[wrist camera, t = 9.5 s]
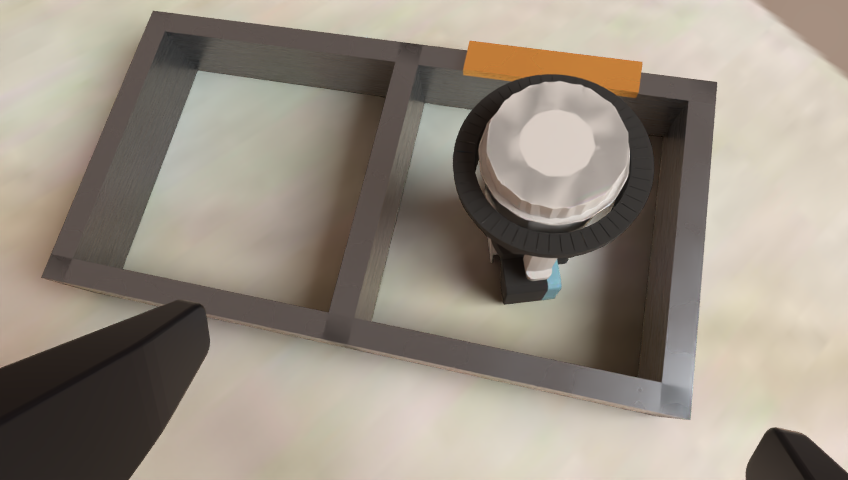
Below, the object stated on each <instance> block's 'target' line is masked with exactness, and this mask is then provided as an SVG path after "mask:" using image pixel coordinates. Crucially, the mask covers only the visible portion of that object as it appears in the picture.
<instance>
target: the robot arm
mask: <svg viewBox="0 0 848 480" xmlns="http://www.w3.org/2000/svg"><path fill="white" fill-rule="evenodd" d="M209 346H210V337H209V330H208V324H207V317H206V311H205V308H204V306H203V305H202V304H200V303H197V302H192V301H188V300H181V299H180V300H175V301H173V302H170V303H167V304H165V305H162V306H160V307H157V308H155V309H152V310H149V311H147V312H144V313H142V314H139V315H136V316H134V317H131V318H129V319H126V320H124V321H121V322H118V323H116V324H113V325H111V326H108V327H105V328H103V329H100V330H98V331H95V332H93V333H90V334H87V335H85V336H82V337H80V338H77V339H74V340H72V341H69V342H67V343H64V344H61V345H59V346H56V347H54V348H51V349H49V350H46V351H43V352H41V353H38V354H36V355H33V356H30V357H28V358H25V359H23V360H20V361H18V362H15V363H12V364H10V365H7V366H5V367H2V368H0V480H129V479H130V477H131V476H132V475H133V473H134V472H135V470H136V469H137V468H138V466H139V465H140V463H141V462H142V461H143V459H144V458H145V456H146V455H147V454H148V452H149V451H150V449H151V448H152V446H153V445H154V444H155V442H156V441H157V439H158V438H159V436H160V435H161V433H162V432H163V430H164V429H165V427H166V425H167V424H168V422H169V420H170V419H171V417H172V415H173V413H174V412H175V410H176V408H177V406H178V405H179V403H180V401H181V399H182V398H183V396H184V394H185V392H186V391H187V389H188V387H189V385H190V384H191V382H192V380H193V378H194V377H195V375H196V373H197V371H198V370H199V368H200V366H201V364H202V362H203V361H204V359H205V357H206V355H207V353H208V350H209ZM746 480H848V473H847V472H846V471H845V470H844V469H843V468H842V467H841V466H839V465H838V464H837V463H836V462H835V461H834V460H833V459H832V458H831V457H829V456H828V455H827V454H826V453H825V452H824V451H823V450H822V449H821V448H820V447H818V446H817V445H816V444H815V443H814V442H813V441H812V440H811V439H809V438H808V437H807V436H806V435H804V434H802V433H799V432H796V431H791V430H786V429H782V428H776V427H775V428H770V429H769V430H767V431H766V433H765V434H764V436H763V438H762V439H761V441H760V443H759V445H758V446H757V448H756V450H755V451H754V453H753V455H752V457H751V458H750V460H749V462H748V464H747V468H746Z"/></svg>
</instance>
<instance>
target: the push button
mask: <svg viewBox="0 0 848 480" xmlns="http://www.w3.org/2000/svg"><path fill="white" fill-rule="evenodd" d="M478 161H479V162H480V172H481V175H482V178H483V180H484V182H485V196H486V198H487V199H486V198H485V196H484V194H483V193H482V191H481V189H480V186H479V184H478V181H477V178H476V173H475V172H476V167H477V164H478ZM453 171H454V180H455V185H456V189H457V192H458V195H459V198H460V200H461V202H462V205H463V207H464V208H465V210H466V212H467V213H468V215H469V216H470V218H471V219H472V220H473V221H474V223H475V224H476V225H477V226H478V227H479V228H480V229H481V230H482V231H483V232H484V234H485V235H486V236H487V237H488V247H489V253H490V260H491V263H493V257H494V256H493V255H497V254H498V255H499V256H500V261H501V281H500V283H501V292H502V298H503V303H504V305H505V304H513V303H521V302H530V301H538V300H546V299H554V298H555V296H556V295H557V293H558V292H559V291H560V290H561V278H560V272H559V267H558V264H565V263H566V262H567V261H568V258H571V257H574V256H578V255H583V254H586V253H589V252H592V251H594V250H596V249H599V248H601V247H603V246H605V245H606V244H608V243H610V242H611V241H613V240H614V239H615V238H617V237H618V236H619V235H621V234H622V233H623V232H624V231H625V230H626V229H627V228H628V227H629V226H630V225H631V224H632V222H633V221H634V220H635V219H636V217H637V216H638V215H639V213H640V212H641V210H642V209H643V207H644V205H645V203H646V201H647V199H648V197H649V194H650V191H651V188H652V183H653V177H654V156H653V150H652V146H651V143H650V139H649V137H648V134H647V132H646V130H645V128H644V126H643V124H642V122H641V121H640V119H639V118H638V117H637V115H636V114H635V113H634V111H633V110H632V109H631V108H630V107H629V106H628V105H627V104H626V103H625V102H624V101H623V100H622V99H621V98H619V97H618V96H617V95H615V94H614V93H612V92H611V91H609V90H608V89H606V88H604V87H602V86H600V85H598V84H596V83H594V82H591V81H588V80H585V79H582V78H578V77H574V76H568V75H559V74H543V75H534V76H529V77H524V78H521V79H517V80H514V81H512V82H509V83H507V84H505V85H503V86H501V87H499V88H497V89H496V90H494V91H493V92H491V93H490V94H488V95H487V96H486V97H484V98H483V99H482V100H481V101H480V102H479V103H478V104H477V105H476V106H475V107H474V108H473V109H472V111H471V112H470V113H469V115H468V116H467V118H466V119H465V121H464V123H463V124H462V126H461V128H460V131H459V133H458V136H457V139H456V143H455V147H454V154H453ZM614 200H615V203H614V206H613V208H612V210H611V212H610V213H608V214H607V215H606V216H605V217H604V218H602V219H601V220H599V221H598V222H596V223H594V224H592V225H590V226H588V227H585V226H586V225H587V223H588V222H589V221H590V220H591V219H592V217H593V216H594V215H596V214H597V213H598V212H600V211H601V210H603V209H604V208H606V207H607V206H609V205H610V204H611V203H612V202H613V201H614ZM584 227H585V228H584Z"/></svg>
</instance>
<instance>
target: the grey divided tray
mask: <svg viewBox="0 0 848 480" xmlns="http://www.w3.org/2000/svg"><path fill="white" fill-rule="evenodd" d="M197 70H202V71H209V72H216V73H223V74H230V75H237V76H244V77H251V78H258V79H265V80H272V81H279V82H285V83H292V84H299V85H306V86H313V87H320V88H327V89H334V90H341V91H348V92H355V93H362V94H369V95H376V96H383V97H386V99H385V103H384V107H383V111H382V114H381V118H380V122H379V126H378V129H377V133H376V137H375V141H374V144H373V148H372V152H371V156H370V159H369V163H368V167H367V171H366V174H365V178H364V182H363V186H362V189H361V193H360V197H359V201H358V204H357V208H356V212H355V216H354V219H353V223H352V227H351V231H350V234H349V238H348V242H347V246H346V249H345V253H344V257H343V261H342V264H341V268H340V272H339V276H338V279H337V283H336V287H335V291H334V294H333V298H332V302H331V306H330V309H329V313H328V312H324V311H319V310H314V309H309V308H305V307H300V306H295V305H290V304H286V303H281V302H276V301H271V300H267V299H262V298H257V297H252V296H248V295H243V294H238V293H233V292H229V291H224V290H219V289H214V288H210V287H205V286H200V285H195V284H191V283H186V282H181V281H176V280H172V279H167V278H162V277H158V276H153V275H148V274H143V273H139V272H134V271H129V270H124V269H122V268H123V266H124V263H125V260H126V258H127V255H128V253H129V250H130V247H131V245H132V242H133V239H134V237H135V234H136V231H137V229H138V226H139V224H140V221H141V218H142V216H143V213H144V210H145V208H146V205H147V202H148V200H149V197H150V195H151V192H152V189H153V187H154V184H155V181H156V179H157V176H158V173H159V171H160V168H161V165H162V163H163V160H164V158H165V155H166V152H167V150H168V147H169V144H170V142H171V139H172V136H173V134H174V131H175V129H176V126H177V123H178V121H179V118H180V115H181V113H182V110H183V107H184V105H185V102H186V99H187V97H188V94H189V92H190V89H191V86H192V84H193V81H194V78H195V76H196V73H197ZM641 70H642V62H638V61H630V60H622V59H613V58H605V57H597V56H589V55H581V54H573V53H565V52H557V51H549V50H541V49H533V48H524V47H516V46H508V45H500V44H492V43H484V42H476V41H469V46H468V50H459V49H451V48H443V47H435V46H427V45H419V44H411V43H403V42H396V41H388V40H380V39H372V38H364V37H356V36H348V35H340V34H332V33H324V32H316V31H309V30H301V29H293V28H285V27H277V26H269V25H261V24H253V23H245V22H237V21H229V20H222V19H214V18H206V17H198V16H190V15H182V14H174V13H166V12H158V11H153V12H152V14H151V17H150V19H149V22H148V24H147V26H146V29H145V31H144V34H143V36H142V38H141V41H140V43H139V45H138V48H137V50H136V53H135V55H134V57H133V60H132V62H131V65H130V67H129V69H128V72H127V74H126V77H125V79H124V81H123V84H122V86H121V88H120V91H119V93H118V96H117V98H116V100H115V103H114V105H113V108H112V110H111V112H110V115H109V117H108V119H107V122H106V124H105V127H104V129H103V131H102V134H101V136H100V139H99V141H98V143H97V146H96V148H95V151H94V153H93V155H92V158H91V160H90V162H89V165H88V167H87V170H86V172H85V174H84V177H83V179H82V182H81V184H80V186H79V189H78V191H77V194H76V196H75V198H74V201H73V203H72V205H71V208H70V210H69V213H68V215H67V217H66V220H65V222H64V225H63V227H62V229H61V232H60V234H59V236H58V239H57V241H56V244H55V246H54V248H53V251H52V253H51V256H50V258H49V260H48V263H47V265H46V268H45V270H44V272H43V275H42V277H41V278H45V279H48V280H52V281H55V282H59V283H63V284H66V285H70V286H73V287H77V288H80V289H84V290H88V291H91V292H95V293H100V294H104V295H109V296H114V297H118V298H123V299H127V300H132V301H136V302H141V303H145V304H150V305H154V306H159V307H160V306H162V305H165V304H167V303H170V302H173V301H175V300H180V299H181V300H188V301H192V302H197V303H200V304H202V305H203V306H204V308H205V311H206V317H209V318H214V319H218V320H223V321H227V322H232V323H236V324H241V325H245V326H250V327H254V328H259V329H264V330H268V331H273V332H277V333H282V334H286V335H291V336H295V337H300V338H304V339H309V340H313V341H318V342H323V343H327V344H332V345H336V346H341V347H345V348H350V349H354V350H359V351H363V352H368V353H373V354H377V355H382V356H386V357H391V358H395V359H400V360H404V361H409V362H413V363H418V364H423V365H427V366H432V367H436V368H441V369H445V370H450V371H454V372H459V373H463V374H468V375H473V376H477V377H482V378H486V379H491V380H495V381H500V382H504V383H509V384H513V385H518V386H523V387H527V388H532V389H536V390H541V391H545V392H550V393H554V394H559V395H563V396H568V397H573V398H577V399H582V400H586V401H591V402H595V403H600V404H604V405H609V406H613V407H618V408H623V409H627V410H632V411H636V412H641V413H645V414H650V415H654V416H659V417H667V418H677V419H688V420H690V418H691V406H692V393H693V380H694V368H695V355H696V343H697V330H698V318H699V305H700V292H701V280H702V267H703V255H704V242H705V229H706V217H707V204H708V192H709V179H710V167H711V154H712V141H713V129H714V116H715V104H716V91H717V82H712V81H704V80H696V79H688V78H680V77H672V76H664V75H657V74H649V73H641ZM543 74H559V75H568V76H574V77H578V78H582V79H585V80H588V81H591V82H594V83H596V84H598V85H600V86H602V87H604V88H606V89H608V90H609V91H611V92H612V93H614V94H615V95H617V96H618V97H619V98H621V99H622V100H623V101H624V102H625V103H626V104H627V105H628V106H629V107H630V108H631V109H632V110H633V111H634V113H635V114H636V115H637V117H638V118H639V119H640V121H641V122H642V124H643V126H644V128H645V130H646V132H647V134H649V135H656V136H663V143H662V153H661V162H660V171H659V181H658V190H657V199H656V209H655V218H654V227H653V237H652V246H651V255H650V265H649V274H648V284H647V293H646V302H645V312H644V321H643V330H642V340H641V349H640V358H639V368H638V377H632V376H628V375H623V374H618V373H613V372H609V371H604V370H599V369H594V368H590V367H585V366H580V365H575V364H571V363H566V362H561V361H556V360H552V359H547V358H542V357H537V356H533V355H528V354H523V353H518V352H514V351H509V350H504V349H499V348H495V347H490V346H485V345H480V344H476V343H471V342H466V341H461V340H457V339H452V338H447V337H442V336H438V335H433V334H428V333H423V332H419V331H414V330H409V329H404V328H400V327H395V326H390V325H385V324H381V323H376V322H371V321H372V317H373V313H374V309H375V304H376V300H377V296H378V292H379V288H380V284H381V280H382V276H383V272H384V267H385V263H386V259H387V255H388V251H389V247H390V243H391V239H392V235H393V231H394V226H395V222H396V218H397V214H398V210H399V206H400V202H401V198H402V194H403V190H404V185H405V181H406V177H407V173H408V169H409V165H410V161H411V157H412V153H413V149H414V144H415V140H416V136H417V132H418V128H419V124H420V120H421V116H422V112H423V107H424V103H432V104H439V105H446V106H453V107H460V108H467V109H473V108H474V107H475V106H476V105H477V104H478V103H479V102H480V101H481V100H482V99H483V98H484V97H486V96H487V95H488V94H490V93H491V92H493V91H494V90H496V89H497V88H499V87H501V86H503V85H505V84H507V83H509V82H512V81H514V80H517V79H521V78H524V77H529V76H534V75H543Z"/></svg>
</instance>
